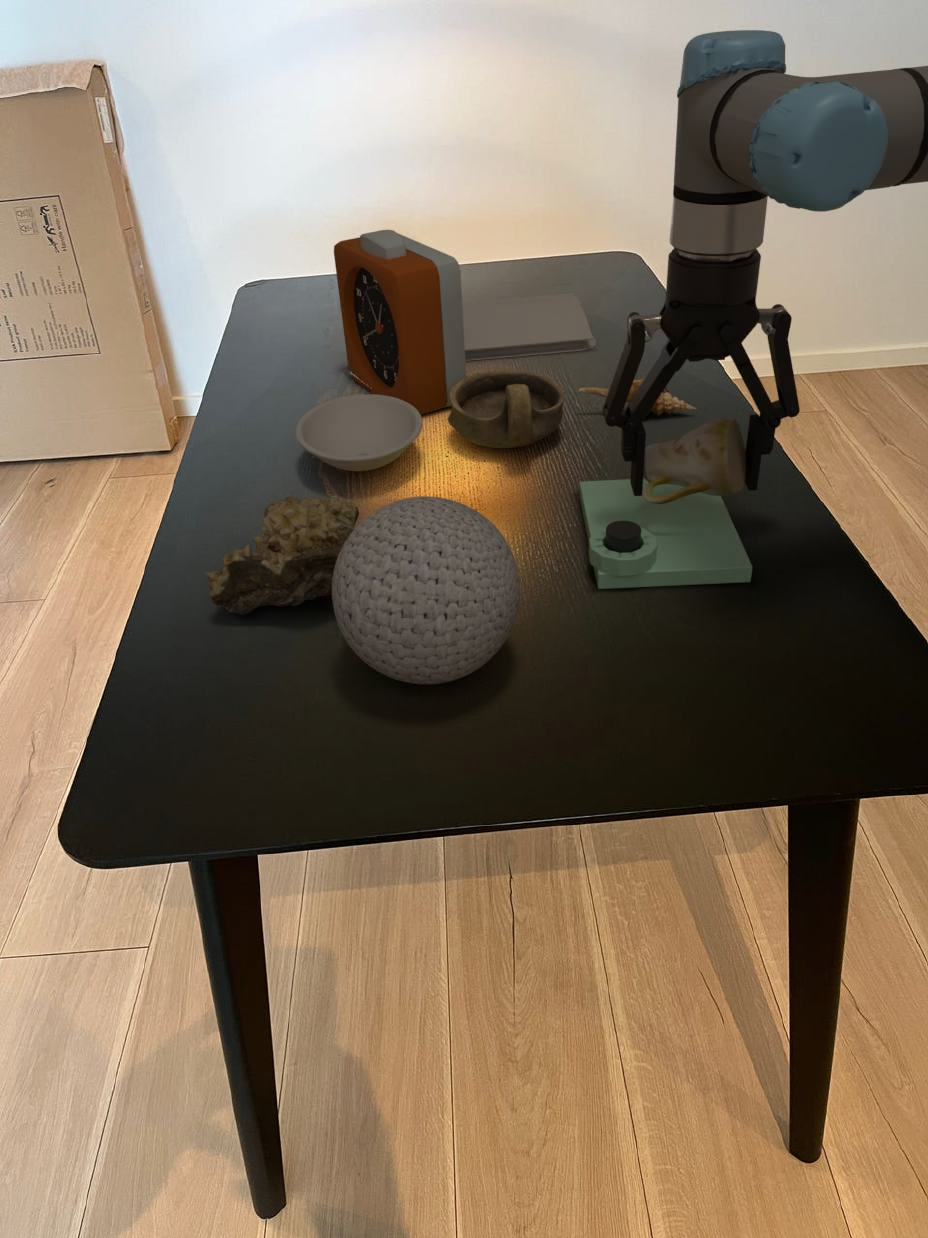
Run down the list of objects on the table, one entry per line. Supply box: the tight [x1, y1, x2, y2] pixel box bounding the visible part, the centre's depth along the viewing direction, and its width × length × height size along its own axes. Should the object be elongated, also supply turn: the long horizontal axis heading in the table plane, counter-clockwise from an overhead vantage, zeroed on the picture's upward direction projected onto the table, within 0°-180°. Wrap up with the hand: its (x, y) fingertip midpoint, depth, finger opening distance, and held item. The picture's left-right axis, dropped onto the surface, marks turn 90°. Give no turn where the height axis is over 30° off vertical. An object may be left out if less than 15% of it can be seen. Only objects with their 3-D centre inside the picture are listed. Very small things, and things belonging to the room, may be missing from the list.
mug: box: [642, 418, 746, 504], centre depth 92 cm, size 8×10×10 cm
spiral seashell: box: [578, 378, 697, 417], centre depth 119 cm, size 14×5×4 cm, turn 101°
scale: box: [578, 478, 753, 590], centre depth 96 cm, size 18×15×4 cm
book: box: [462, 292, 597, 362], centre depth 143 cm, size 15×23×4 cm, turn 96°
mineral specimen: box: [204, 495, 360, 616], centre depth 90 cm, size 14×13×10 cm
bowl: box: [447, 369, 565, 449], centre depth 112 cm, size 14×18×10 cm
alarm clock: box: [333, 229, 467, 416], centre depth 124 cm, size 18×9×21 cm, turn 31°
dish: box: [295, 393, 424, 472], centre depth 112 cm, size 18×14×5 cm
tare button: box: [605, 521, 641, 553], centre depth 90 cm, size 3×3×2 cm
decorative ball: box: [331, 496, 521, 685], centre depth 78 cm, size 15×15×15 cm
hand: (692, 486), depth 94 cm, fingers closed on mug, 10 cm apart
